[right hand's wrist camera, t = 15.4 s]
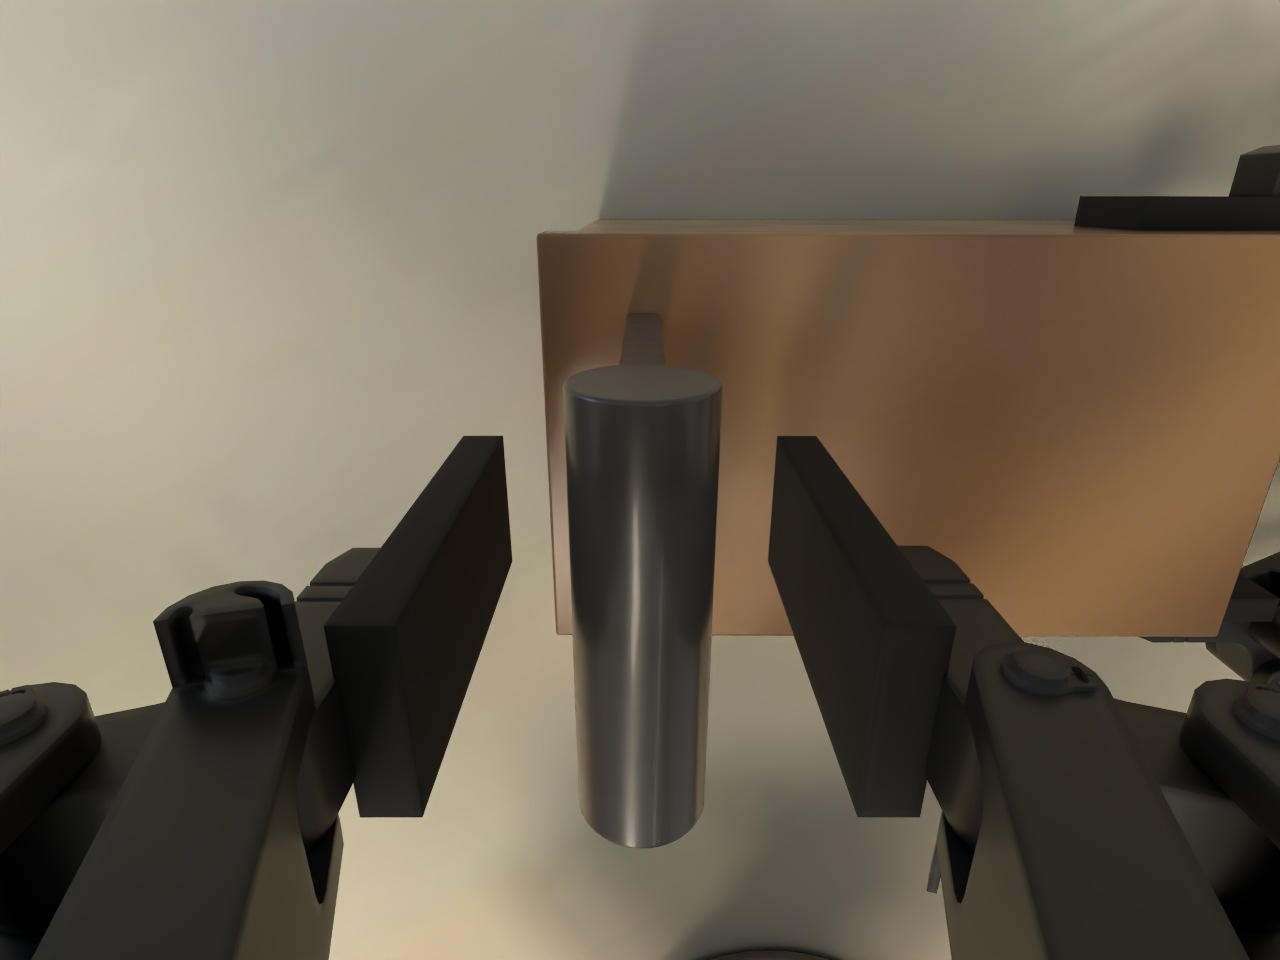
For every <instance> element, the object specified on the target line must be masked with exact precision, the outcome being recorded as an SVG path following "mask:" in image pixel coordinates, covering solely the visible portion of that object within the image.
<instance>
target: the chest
mask: <svg viewBox="0 0 1280 960" xmlns="http://www.w3.org/2000/svg"><path fill="white" fill-rule="evenodd" d="M1074 223H1075V220H597V221H595V222H593V223H591V224H589V225H587V226H586V227H584V228H582V229H580V230H578V231H576V232H1236V233H1280V231H1140V230H1125V229H1110V228H1096V227H1081V226H1074Z"/></svg>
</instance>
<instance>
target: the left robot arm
mask: <svg viewBox="0 0 1280 960" xmlns="http://www.w3.org/2000/svg"><path fill="white" fill-rule="evenodd" d="M1074 226H1081V227H1096V228H1110V229H1125V230H1140V231H1280V145H1277V146H1265V147H1261V148H1258V149H1256V150H1253V151H1251V152H1248V153H1246V154H1243V155H1241V156H1240V159H1239V162H1238V166H1237V169H1236V173H1235V176H1234V180H1233V183H1232V187H1231V190H1230V194H1229V197H1170V196H1080V200H1079V205H1078V210H1077V214H1076V219H1075V223H1074ZM1140 638H1143V639H1146V640H1148V641H1151V642H1171V641H1172V642H1184V641H1186V642H1206V643H1205V644H1206V648H1207V650H1209V651H1210V652H1211V653H1212V654H1213V655H1214V656H1216V657H1217V658H1218V659H1219V660H1220V661H1222V662H1223V663H1224V664H1225V665H1227V666H1228V667H1229V668H1230V669H1232V670H1233V671H1234V672H1235V673H1237V674H1238V675H1239V676H1240V677H1242V678H1243V679H1244V680H1245V681H1248V682H1258V683H1263V684H1267V685H1269V686H1270V687H1273V686H1275V687H1278V688H1280V552H1278V553H1276V554H1273V555H1271V556H1269V557H1266V558H1264V559H1262V560H1259V561H1257V562H1254V563H1252V564H1250V565H1247V566H1245V567H1243V568H1241V569H1240V572H1239V575H1238V578H1237V581H1236V583H1235V586H1234V589H1233V592H1232V595H1231V598H1230V600H1229V603H1228V606H1227V609H1226V612H1225V614H1224V617H1223V620H1222V623H1221V626H1220V629H1219V631H1218V634H1217V636H1215V637H1140ZM708 960H829V959H826V958H823V957H819V956H815V955H810V954H805V953H799V952H790V951H771V950H768V951H749V952H740V953H734V954H728V955H724V956H719V957H715V958H712V959H708Z"/></svg>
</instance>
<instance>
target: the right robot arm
mask: <svg viewBox="0 0 1280 960" xmlns="http://www.w3.org/2000/svg"><path fill="white" fill-rule="evenodd" d="M511 563H512V552H511V539H510V525H509V512H508V498H507V485H506V472H505V458H504V445H503V436H463V437H462V439H461V440H460V442H459V443H458V444H457V446H456V447H455V448H454V450H453V451H452V452H451V454H450V455H449V456H448V458H447V459H446V461H445V462H444V463H443V465H442V466H441V467H440V469H439V470H438V471H437V473H436V474H435V475H434V477H433V478H432V479H431V481H430V482H429V484H428V485H427V486H426V488H425V489H424V490H423V492H422V493H421V494H420V496H419V497H418V498H417V500H416V501H415V503H414V504H413V505H412V507H411V508H410V509H409V511H408V512H407V513H406V515H405V516H404V517H403V519H402V520H401V521H400V523H399V524H398V526H397V527H396V528H395V530H394V531H393V532H392V534H391V535H390V536H389V538H388V539H387V540H386V542H385V543H384V545H383V546H382V547H381V548H352V549H350V550H348V551H347V552H345V553H343V554H342V555H340V556H338V557H337V558H335V559H333V560H332V561H330V562H328V563H326V564H325V566H324V567H323V568H322V569H321V570H320V571H319V573H318V574H317V575H316V576H315V577H314V578H313V580H312V581H311V582H310V586H307V587H306V588H305V589H304V590H303V591H302V592H301V594H300V595H299V596H298V597H297V602H294V597H293V592H292V591H290V590H289V589H288V588H286V587H285V586H283V585H282V584H278V583H273V582H268V581H241V582H235V583H230V584H225V585H220V586H215V587H212V588H209V589H206V590H203V591H201V592H198V593H195V594H192V595H189V596H187V597H185V598H184V599H182V600H180V601H178V602H177V603H175V604H173V605H171V606H169V607H168V608H166V609H165V610H164V611H163V612H162V613H161V614H160V615H159V616H158V617H157V618H156V619H155V620H154V621H153V623H154V626H155V630H156V633H157V636H158V640H159V643H160V647H161V650H162V653H163V657H164V660H165V663H166V667H167V670H168V674H169V677H170V680H171V684H172V687H173V688H172V690H171V692H170V694H169V696H168V698H167V700H166V702H164V703H160V704H156V705H151V706H146V707H141V708H136V709H131V710H126V711H120V712H115V713H110V714H105V715H100V716H95V717H94V714H93V711H92V708H91V705H90V703H89V700H88V697H87V694H86V693H85V692H84V691H83V690H81V689H80V688H79V687H77V686H76V685H73V684H65V683H57V682H52V683H44V684H36V685H25V686H21V687H16V688H12V690H10V691H9V690H5V691H2V692H0V960H328V959H329V952H330V944H331V936H332V929H333V921H334V913H335V906H336V898H337V890H338V883H339V875H340V868H341V860H342V852H343V845H344V844H343V837H342V829H341V824H340V820H339V815H338V812H339V810H340V808H341V806H342V804H343V802H344V800H345V798H346V796H347V794H348V792H349V790H350V788H351V786H352V784H353V783H354V788H355V793H356V798H357V804H358V809H359V814H360V817H423V814H424V811H425V808H426V805H427V802H428V800H429V797H430V794H431V791H432V788H433V785H434V782H435V780H436V777H437V774H438V771H439V768H440V765H441V763H442V760H443V757H444V754H445V751H446V748H447V745H448V743H449V740H450V737H451V734H452V731H453V728H454V725H455V723H456V720H457V717H458V714H459V711H460V708H461V706H462V703H463V700H464V697H465V694H466V691H467V688H468V686H469V683H470V680H471V677H472V674H473V671H474V668H475V666H476V663H477V660H478V657H479V654H480V651H481V649H482V646H483V643H484V640H485V637H486V634H487V631H488V629H489V626H490V623H491V620H492V617H493V614H494V612H495V609H496V606H497V603H498V600H499V597H500V594H501V592H502V589H503V586H504V583H505V580H506V577H507V574H508V572H509V569H510V566H511ZM768 563H769V566H770V569H771V572H772V575H773V577H774V580H775V583H776V586H777V589H778V592H779V594H780V597H781V600H782V603H783V606H784V609H785V612H786V614H787V617H788V620H789V623H790V626H791V629H792V631H793V634H794V637H795V640H796V643H797V646H798V649H799V651H800V654H801V657H802V660H803V663H804V666H805V669H806V671H807V674H808V677H809V680H810V683H811V686H812V688H813V691H814V694H815V697H816V700H817V703H818V706H819V708H820V711H821V714H822V717H823V720H824V723H825V726H826V728H827V731H828V734H829V737H830V740H831V743H832V745H833V748H834V751H835V754H836V757H837V760H838V763H839V765H840V768H841V771H842V774H843V777H844V780H845V782H846V785H847V788H848V791H849V794H850V797H851V800H852V802H853V805H854V808H855V811H856V814H857V817H920V814H921V809H922V804H923V798H924V793H925V788H926V783H927V780H928V782H929V784H930V786H931V788H932V790H933V792H934V794H935V796H936V798H937V800H938V802H939V804H940V806H941V808H942V815H941V820H940V824H939V829H938V834H937V839H936V844H935V849H934V853H933V858H932V863H931V868H930V873H929V879H928V886H927V891H928V892H933V893H937V890H938V885H939V881H940V877H941V881H942V889H943V896H944V904H945V912H946V919H947V927H948V934H949V942H950V950H951V957H952V960H1280V688H1278V687H1275V686H1273V687H1270V686H1269V685H1267V684H1263V683H1258V682H1248V681H1240V680H1232V679H1222V680H1213V681H1206V682H1205V683H1203V684H1202V685H1201V686H1199V687H1198V688H1197V689H1195V691H1194V694H1193V697H1192V700H1191V703H1190V705H1189V708H1188V711H1187V713H1182V712H1177V711H1172V710H1167V709H1161V708H1156V707H1151V706H1146V705H1141V704H1136V703H1131V702H1126V701H1122V700H1118V699H1114V698H1113V697H1112V695H1111V693H1110V691H1109V689H1108V687H1107V686H1106V685H1105V684H1104V682H1103V681H1102V680H1101V679H1100V678H1099V676H1098V675H1097V674H1096V673H1095V672H1094V671H1092V670H1091V669H1089V668H1088V667H1086V666H1085V665H1083V664H1082V663H1081V662H1079V661H1078V660H1076V659H1074V658H1072V657H1070V656H1067V655H1065V654H1062V653H1060V652H1058V651H1055V650H1053V649H1051V648H1046V647H1042V646H1038V645H1033V644H1029V643H1025V642H1024V641H1023V640H1022V639H1021V638H1020V637H1019V636H1018V634H1017V633H1016V632H1015V631H1014V630H1013V629H1012V627H1011V626H1010V625H1009V624H1008V623H1007V622H1006V620H1005V619H1004V618H1003V617H1002V616H1001V615H1000V614H999V612H998V611H997V610H996V609H995V608H994V607H993V605H992V604H991V603H990V602H989V601H988V600H987V599H984V595H983V594H982V593H981V592H980V590H979V589H978V588H977V587H976V586H975V585H974V583H970V579H969V578H968V576H967V575H966V574H965V573H964V572H963V571H962V569H961V568H960V567H959V566H958V565H957V564H956V563H955V561H953V560H951V559H950V558H948V557H946V556H944V555H943V554H941V553H939V552H938V551H936V550H934V549H933V548H931V547H929V546H897V545H896V543H895V542H894V540H893V539H892V538H891V536H890V535H889V534H888V532H887V531H886V530H885V528H884V527H883V526H882V524H881V523H880V522H879V520H878V519H877V517H876V516H875V515H874V513H873V512H872V511H871V509H870V508H869V507H868V505H867V504H866V503H865V501H864V500H863V498H862V497H861V496H860V494H859V493H858V492H857V490H856V489H855V488H854V486H853V485H852V484H851V482H850V481H849V480H848V478H847V477H846V475H845V474H844V473H843V471H842V470H841V469H840V467H839V466H838V465H837V463H836V462H835V461H834V459H833V458H832V456H831V455H830V454H829V452H828V451H827V450H826V448H825V447H824V446H823V444H822V443H821V442H820V440H819V439H818V438H817V436H777V445H776V458H775V471H774V485H773V498H772V512H771V525H770V538H769V552H768Z"/></svg>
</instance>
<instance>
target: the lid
mask: <svg viewBox="0 0 1280 960" xmlns="http://www.w3.org/2000/svg"><path fill="white" fill-rule="evenodd" d="M537 255H538V275H539V295H540V316H541V336H542V356H543V376H544V396H545V416H546V437H547V457H548V477H549V497H550V517H551V537H552V557H553V578H554V598H555V618H556V633H557V634H558V635H573V656H574V682H575V707H576V732H577V757H578V782H579V802H580V808H581V811H582V814H583V816H584V818H585V820H586V821H587V822H588V824H589V825H590V827H591V828H592V829H593V830H594V831H595V832H596V833H598V834H599V835H600V836H602V837H603V838H605V839H607V840H608V841H610V842H613V843H615V844H618V845H621V846H625V847H631V848H653V847H659V846H662V845H666V844H669V843H671V842H673V841H675V840H677V839H679V838H681V837H682V836H683V835H685V834H686V833H687V832H688V831H689V830H690V829H691V828H692V827H693V826H694V825H695V823H696V822H697V820H698V819H699V817H700V815H701V813H702V810H703V805H704V793H705V771H706V749H707V727H708V705H709V683H710V661H711V639H712V635H794V634H793V631H792V629H791V626H790V623H789V620H788V617H787V614H786V612H785V609H784V606H783V603H782V600H781V597H780V594H779V592H778V589H777V586H776V583H775V580H774V577H773V575H772V572H771V569H770V566H769V563H768V552H769V538H770V525H771V512H772V498H773V485H774V471H775V458H776V445H777V436H817V438H818V439H819V440H820V442H821V443H822V444H823V446H824V447H825V448H826V450H827V451H828V452H829V454H830V455H831V456H832V458H833V459H834V461H835V462H836V463H837V465H838V466H839V467H840V469H841V470H842V471H843V473H844V474H845V475H846V477H847V478H848V480H849V481H850V482H851V484H852V485H853V486H854V488H855V489H856V490H857V492H858V493H859V494H860V496H861V497H862V498H863V500H864V501H865V503H866V504H867V505H868V507H869V508H870V509H871V511H872V512H873V513H874V515H875V516H876V517H877V519H878V520H879V522H880V523H881V524H882V526H883V527H884V528H885V530H886V531H887V532H888V534H889V535H890V536H891V538H892V539H893V540H894V542H895V543H896V545H897V546H929V547H931V548H933V549H934V550H936V551H938V552H939V553H941V554H943V555H944V556H946V557H948V558H950V559H951V560H953V561H955V563H956V564H957V565H958V566H959V567H960V568H961V569H962V571H963V572H964V573H965V574H966V575H967V576H968V578H969V579H970V583H974V585H975V586H976V587H977V588H978V589H979V590H980V592H981V593H982V594H983V595H984V599H987V600H988V601H989V602H990V603H991V604H992V605H993V607H994V608H995V609H996V610H997V611H998V612H999V614H1000V615H1001V616H1002V617H1003V618H1004V619H1005V620H1006V622H1007V623H1008V624H1009V625H1010V626H1011V627H1012V629H1013V630H1014V631H1015V632H1016V633H1017V634H1018V636H1133V637H1215V636H1217V634H1218V631H1219V629H1220V626H1221V623H1222V620H1223V617H1224V614H1225V612H1226V609H1227V606H1228V603H1229V600H1230V598H1231V595H1232V592H1233V589H1234V586H1235V583H1236V581H1237V578H1238V575H1239V572H1240V569H1241V566H1242V564H1243V561H1244V558H1245V555H1246V552H1247V550H1248V547H1249V544H1250V541H1251V538H1252V535H1253V533H1254V530H1255V527H1256V524H1257V521H1258V518H1259V516H1260V513H1261V510H1262V507H1263V504H1264V501H1265V499H1266V496H1267V493H1268V490H1269V487H1270V485H1271V482H1272V479H1273V476H1274V473H1275V470H1276V468H1277V465H1278V462H1279V459H1280V233H1236V232H551V231H545V232H542V233H540V234H537Z"/></svg>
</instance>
